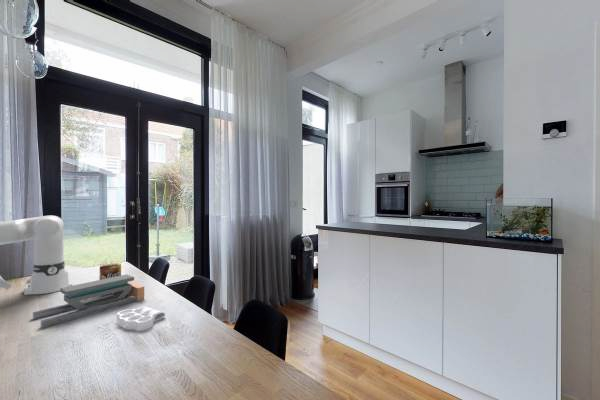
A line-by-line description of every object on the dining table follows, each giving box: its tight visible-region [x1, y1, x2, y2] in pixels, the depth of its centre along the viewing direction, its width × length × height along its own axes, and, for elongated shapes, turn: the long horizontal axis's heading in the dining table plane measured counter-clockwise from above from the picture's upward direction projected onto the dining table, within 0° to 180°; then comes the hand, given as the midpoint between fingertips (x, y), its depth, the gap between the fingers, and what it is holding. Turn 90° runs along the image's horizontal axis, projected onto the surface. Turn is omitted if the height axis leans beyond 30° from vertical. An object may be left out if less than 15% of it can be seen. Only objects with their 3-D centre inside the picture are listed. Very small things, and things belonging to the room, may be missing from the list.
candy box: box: [98, 262, 122, 280], centre depth 134 cm, size 9×4×15 cm, turn 123°
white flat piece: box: [114, 305, 166, 332], centre depth 105 cm, size 3×18×15 cm
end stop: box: [125, 281, 145, 302], centre depth 131 cm, size 14×3×6 cm, turn 54°
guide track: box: [32, 293, 139, 329], centre depth 117 cm, size 14×33×2 cm, turn 144°
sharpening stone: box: [59, 274, 135, 310], centre depth 119 cm, size 25×8×11 cm, turn 144°
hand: (9, 286), depth 97 cm, fingers closed
